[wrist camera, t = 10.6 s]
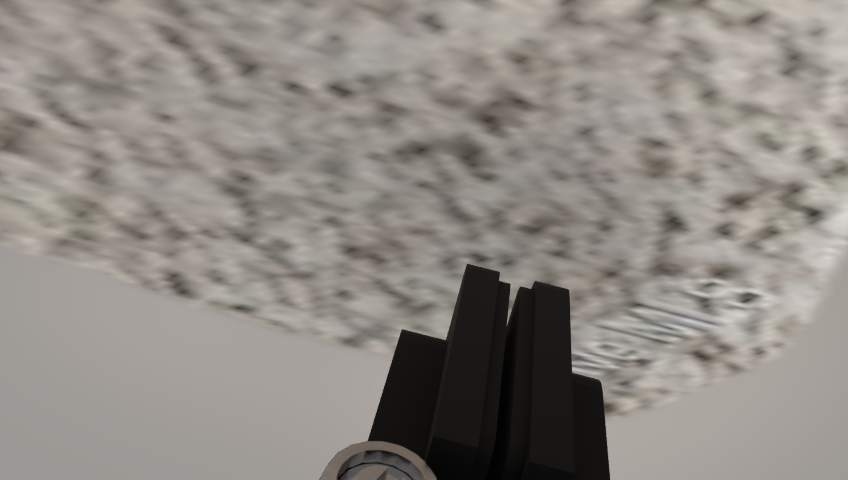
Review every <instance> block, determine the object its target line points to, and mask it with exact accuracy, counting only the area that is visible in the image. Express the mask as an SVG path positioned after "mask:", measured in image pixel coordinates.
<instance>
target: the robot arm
mask: <svg viewBox="0 0 848 480" xmlns="http://www.w3.org/2000/svg"><path fill="white" fill-rule="evenodd" d="M499 275H500V272H498V271H494V270H490V269H486V268H482V267H478V266H474V265H470V264H467V265H466V269H465V272H464V276H463V280H462V283H461V287H460V291H459V294H458V298H457V302H456V305H455V309H454V313H453V317H452V320H451V324H450V328H449V331H448V335H447V339H446V340H442V339H438V338H434V337H430V336H427V335H423V334H419V333H415V332H411V331H407V330H403V329H402V331H401V334H400V337H399V340H398V343H397V347H396V350H395V353H394V357H393V360H392V363H391V367H390V370H389V373H388V376H387V380H386V383H385V386H384V389H383V393H382V396H381V399H380V403H379V406H378V409H377V413H376V416H375V419H374V422H373V426H372V429H371V432H370V436H369V439H368V441H366V442H362V443H357V444H353V445H350V446H348V447H347V448H345V449H343V450H342V451H340V452H338V453H337V454H336V455H335V457H334V458H333V459H332V460H331V461H330V462H329V463H328V465H327V467H326V468H325V470H324V472H323V474H322V475H321V477H320V479H319V480H610V473H609V461H608V451H607V450H608V449H607V438H606V426H605V414H604V403H603V391H602V385H601V382H600V381H599V380H598V379H594V378H590V377H586V376H582V375H578V374H574V373H572V360H571V328H570V297H569V290H568V289H565V288H561V287H557V286H553V285H549V284H545V283H541V282H537V281H535V282H534V284H533V286H532V289H529V288H525V287H521V286H520V288H519V290H518V293H517V296H516V299H515V302H514V305H513V308H512V312H511V315H510V318H509V321H508V324H507V316H508V306H509V295H510V284H509V283H505V282H501V281H499Z"/></svg>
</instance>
